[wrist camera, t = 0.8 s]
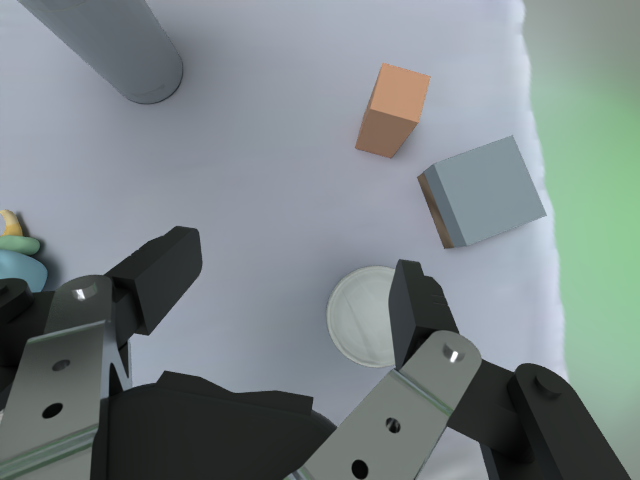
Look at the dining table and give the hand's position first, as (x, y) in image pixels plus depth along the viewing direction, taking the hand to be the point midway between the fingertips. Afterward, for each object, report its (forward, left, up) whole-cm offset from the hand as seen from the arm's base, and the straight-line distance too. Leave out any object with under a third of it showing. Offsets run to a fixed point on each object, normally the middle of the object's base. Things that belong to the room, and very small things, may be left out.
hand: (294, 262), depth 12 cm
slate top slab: (-1, +23, -23) cm, 33 cm away
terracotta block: (-13, +15, -26) cm, 32 cm away
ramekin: (+8, +6, -26) cm, 28 cm away
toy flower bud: (-12, -32, -26) cm, 43 cm away
